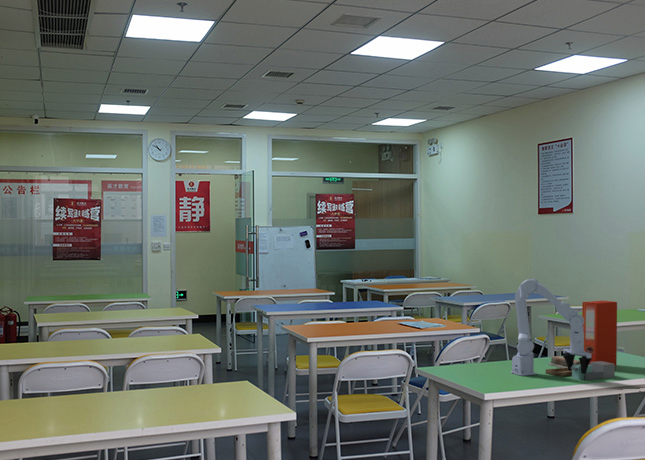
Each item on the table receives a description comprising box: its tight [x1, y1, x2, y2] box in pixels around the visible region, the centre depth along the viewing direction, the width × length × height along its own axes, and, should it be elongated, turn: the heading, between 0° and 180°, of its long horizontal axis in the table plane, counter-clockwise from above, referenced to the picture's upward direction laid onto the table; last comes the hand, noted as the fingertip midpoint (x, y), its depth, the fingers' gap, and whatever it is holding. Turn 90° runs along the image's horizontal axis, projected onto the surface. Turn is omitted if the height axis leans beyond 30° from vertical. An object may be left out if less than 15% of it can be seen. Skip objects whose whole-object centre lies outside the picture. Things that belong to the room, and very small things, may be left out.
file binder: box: [581, 300, 618, 367], centre depth 318 cm, size 8×17×32 cm, turn 124°
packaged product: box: [548, 355, 580, 368], centre depth 314 cm, size 18×5×10 cm
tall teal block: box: [571, 364, 592, 381], centre depth 289 cm, size 9×4×6 cm, turn 114°
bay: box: [584, 361, 616, 381], centre depth 292 cm, size 17×8×6 cm, turn 114°
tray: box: [545, 367, 572, 378], centre depth 298 cm, size 13×8×2 cm, turn 114°
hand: (577, 371), depth 288 cm, fingers open, 7 cm apart
